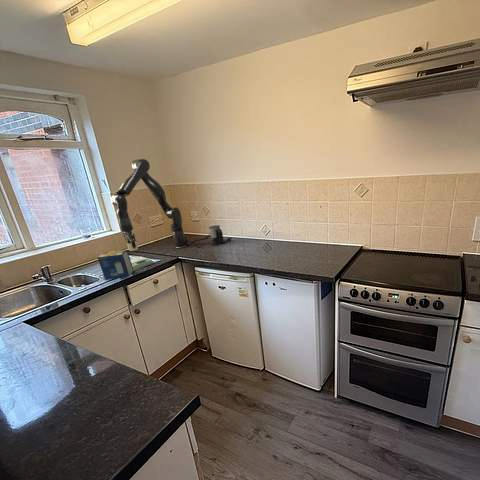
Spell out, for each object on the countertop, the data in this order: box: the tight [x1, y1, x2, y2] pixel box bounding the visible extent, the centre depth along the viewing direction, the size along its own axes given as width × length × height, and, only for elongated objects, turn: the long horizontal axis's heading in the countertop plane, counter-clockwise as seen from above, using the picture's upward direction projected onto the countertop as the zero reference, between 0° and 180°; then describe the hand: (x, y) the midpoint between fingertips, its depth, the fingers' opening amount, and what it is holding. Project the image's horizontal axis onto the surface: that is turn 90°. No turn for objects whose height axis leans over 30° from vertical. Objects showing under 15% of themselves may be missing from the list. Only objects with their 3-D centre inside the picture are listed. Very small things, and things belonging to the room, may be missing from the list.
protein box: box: [97, 249, 135, 280], centre depth 196 cm, size 10×15×16 cm
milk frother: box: [208, 224, 233, 246], centre depth 248 cm, size 14×16×15 cm
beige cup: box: [127, 241, 139, 252], centre depth 216 cm, size 6×6×5 cm
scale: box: [130, 256, 153, 270], centre depth 218 cm, size 14×17×3 cm
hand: (132, 246), depth 216 cm, fingers closed on beige cup, 6 cm apart
